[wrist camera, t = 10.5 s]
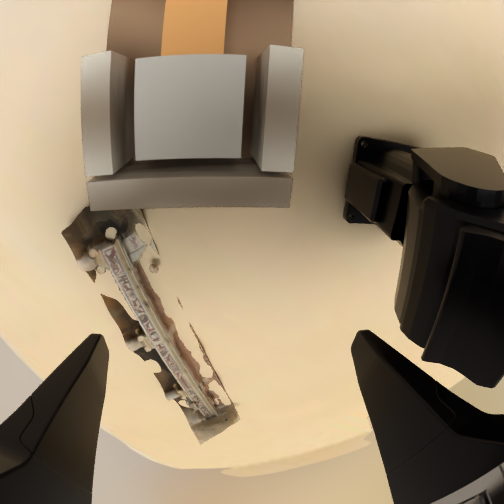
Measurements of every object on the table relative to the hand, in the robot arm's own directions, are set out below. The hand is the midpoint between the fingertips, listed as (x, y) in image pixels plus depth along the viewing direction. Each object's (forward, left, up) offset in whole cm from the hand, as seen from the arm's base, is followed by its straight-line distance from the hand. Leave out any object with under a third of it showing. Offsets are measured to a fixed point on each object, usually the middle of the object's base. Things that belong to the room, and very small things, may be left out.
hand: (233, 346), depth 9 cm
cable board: (+2, -17, -12) cm, 21 cm away
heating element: (+5, +13, -13) cm, 19 cm away
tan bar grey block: (+2, -17, -11) cm, 20 cm away
